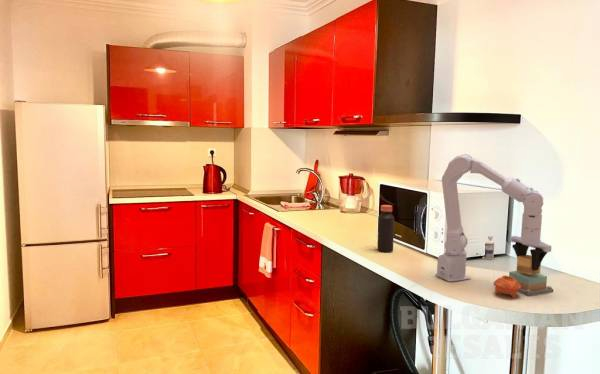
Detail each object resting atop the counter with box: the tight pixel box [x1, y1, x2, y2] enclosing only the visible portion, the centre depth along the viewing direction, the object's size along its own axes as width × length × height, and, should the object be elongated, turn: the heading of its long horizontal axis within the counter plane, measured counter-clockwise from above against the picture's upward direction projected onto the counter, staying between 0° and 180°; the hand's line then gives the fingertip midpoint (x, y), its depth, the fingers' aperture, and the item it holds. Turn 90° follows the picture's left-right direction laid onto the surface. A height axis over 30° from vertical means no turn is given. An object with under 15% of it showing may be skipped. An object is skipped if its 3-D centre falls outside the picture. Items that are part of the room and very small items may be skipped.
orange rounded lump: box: [493, 275, 521, 299], centre depth 147 cm, size 8×8×7 cm
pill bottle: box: [481, 235, 495, 260], centre depth 189 cm, size 5×5×10 cm
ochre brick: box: [516, 254, 542, 275], centre depth 152 cm, size 5×5×5 cm
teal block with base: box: [508, 270, 554, 297], centre depth 153 cm, size 11×11×5 cm
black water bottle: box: [377, 204, 395, 253], centre depth 198 cm, size 7×7×20 cm
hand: (528, 267), depth 152 cm, fingers closed on ochre brick, 5 cm apart
